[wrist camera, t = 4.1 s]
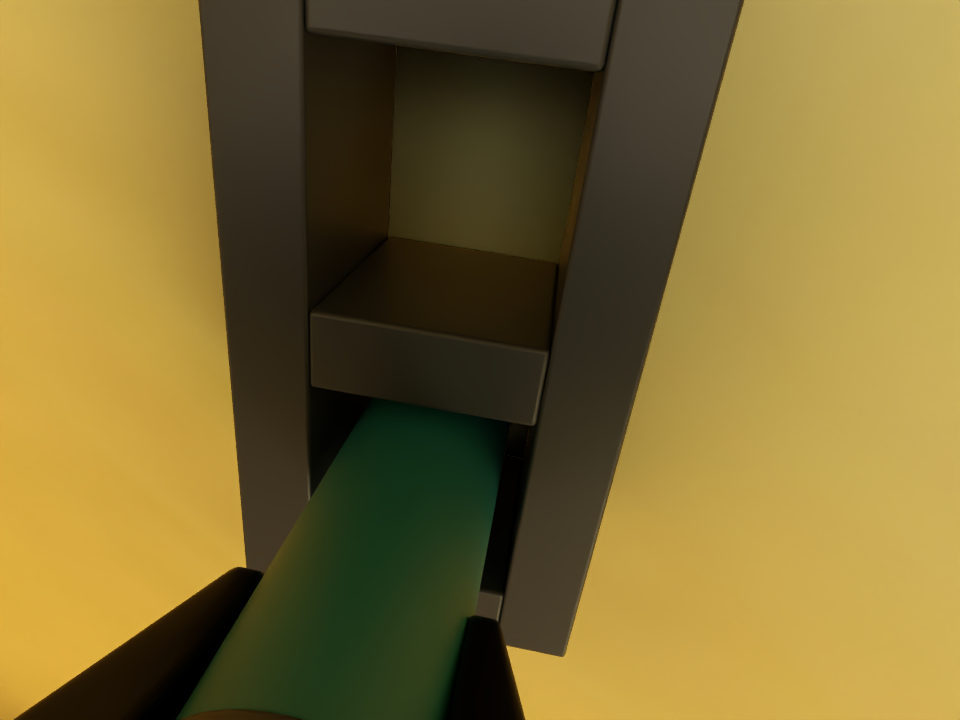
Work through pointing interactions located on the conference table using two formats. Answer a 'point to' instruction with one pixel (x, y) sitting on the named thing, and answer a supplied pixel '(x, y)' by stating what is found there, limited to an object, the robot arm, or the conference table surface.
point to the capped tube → (369, 579)
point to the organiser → (448, 260)
